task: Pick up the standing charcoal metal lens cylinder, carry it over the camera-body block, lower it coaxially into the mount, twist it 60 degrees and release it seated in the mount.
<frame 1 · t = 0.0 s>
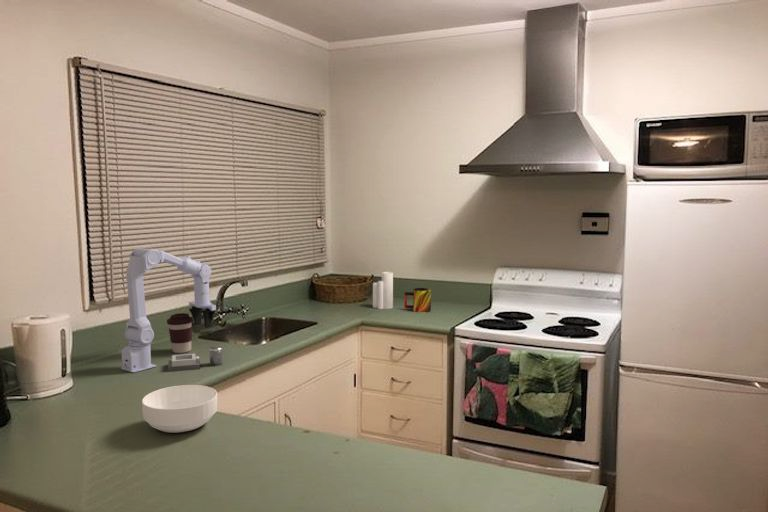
hand: (203, 325, 238), 10 cm above the worktop, fingers open, 6 cm apart
coffee cup: (182, 351, 239), on the worktop, touching gripper
lens: (216, 364, 221), on the worktop
vase: (382, 308, 331), on the worktop
bowl: (181, 426, 162), on the worktop
camera body: (184, 366, 217), on the worktop
mug: (418, 311, 323), on the worktop
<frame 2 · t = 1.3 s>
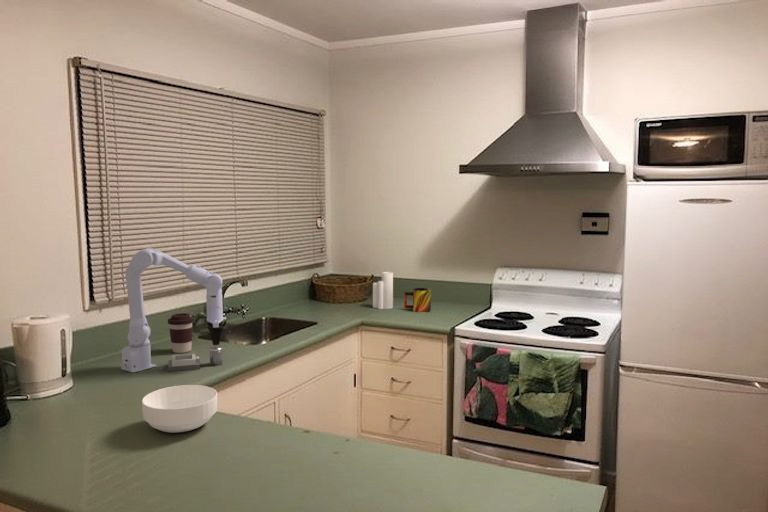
hand: (215, 342, 220), 8 cm above the worktop, fingers open, 7 cm apart
coffee cup: (182, 351, 239), on the worktop
everything else where it was.
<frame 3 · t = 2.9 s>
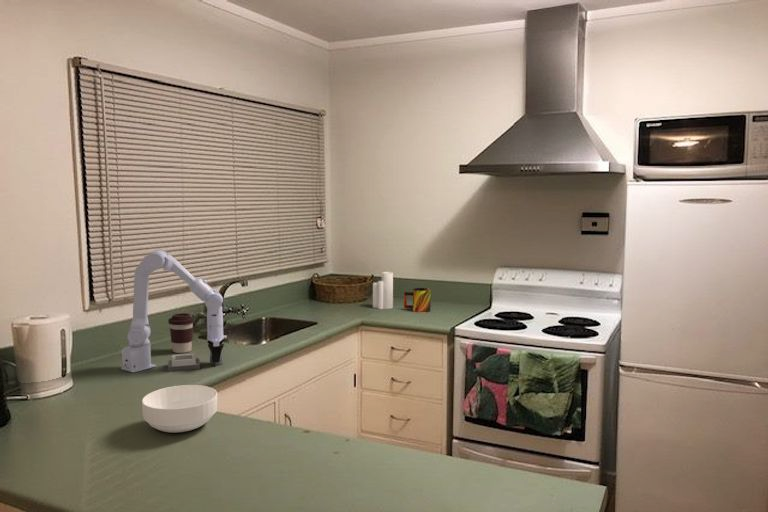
hand: (216, 360, 220), 1 cm above the worktop, fingers closed on lens, 4 cm apart
lens: (216, 364, 221), on the worktop, touching gripper
everything else where it was.
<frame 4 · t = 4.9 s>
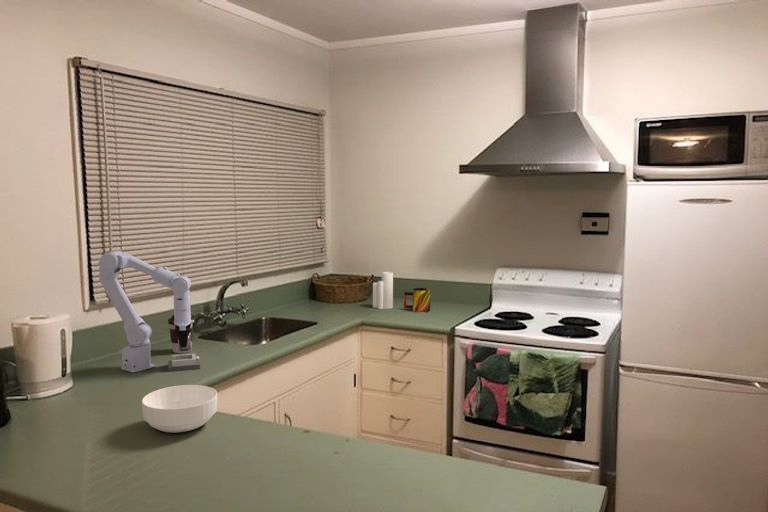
hand: (183, 345, 216), 8 cm above the worktop, fingers closed on lens, 4 cm apart
lens: (184, 349, 217), point 6 cm above the worktop, touching gripper
everything else where it was.
when the fingers open (4 cm above the worktop, at t = 7.2 s): lens stays where it is, resting on camera body.
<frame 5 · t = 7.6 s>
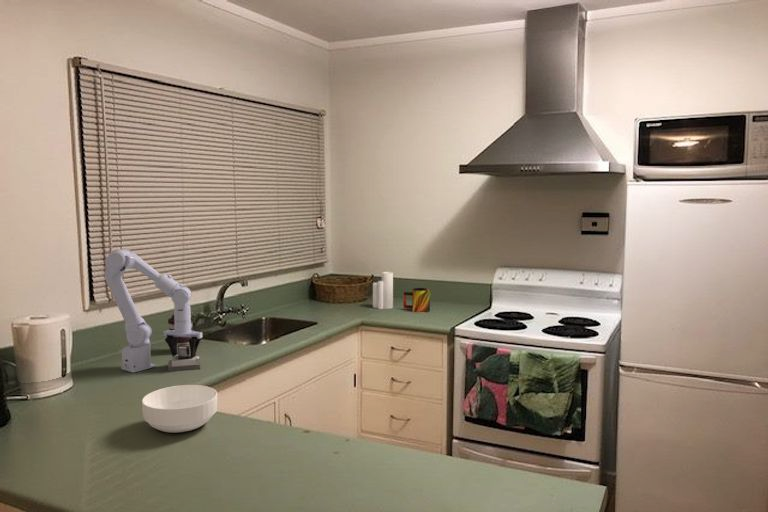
hand: (183, 356, 217), 4 cm above the worktop, fingers open, 7 cm apart
lens: (184, 362, 217), point 2 cm above the worktop, touching camera body
everything else where it was.
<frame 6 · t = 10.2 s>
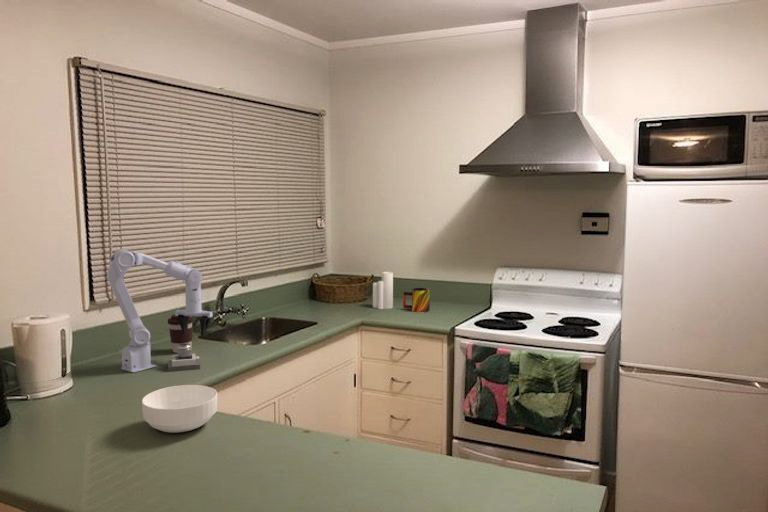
hand: (194, 334, 225), 10 cm above the worktop, fingers open, 7 cm apart
nothing on the worktop moved.
at the end: lens 0.4 cm off-centre on the camera body, point 1.6 cm above the camera body's base; lens tilted 0°; the gripper is holding nothing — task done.
